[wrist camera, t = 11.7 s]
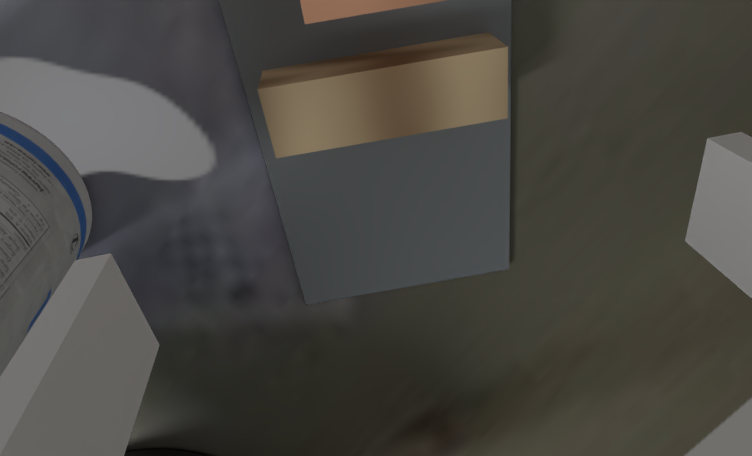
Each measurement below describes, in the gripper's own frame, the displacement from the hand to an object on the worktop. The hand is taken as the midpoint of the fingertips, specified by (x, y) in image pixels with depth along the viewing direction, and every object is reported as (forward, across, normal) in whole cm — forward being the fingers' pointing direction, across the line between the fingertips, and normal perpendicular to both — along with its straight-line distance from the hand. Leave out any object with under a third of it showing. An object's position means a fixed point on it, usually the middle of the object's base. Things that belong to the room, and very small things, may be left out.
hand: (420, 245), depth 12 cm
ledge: (+14, +1, 0) cm, 14 cm away
